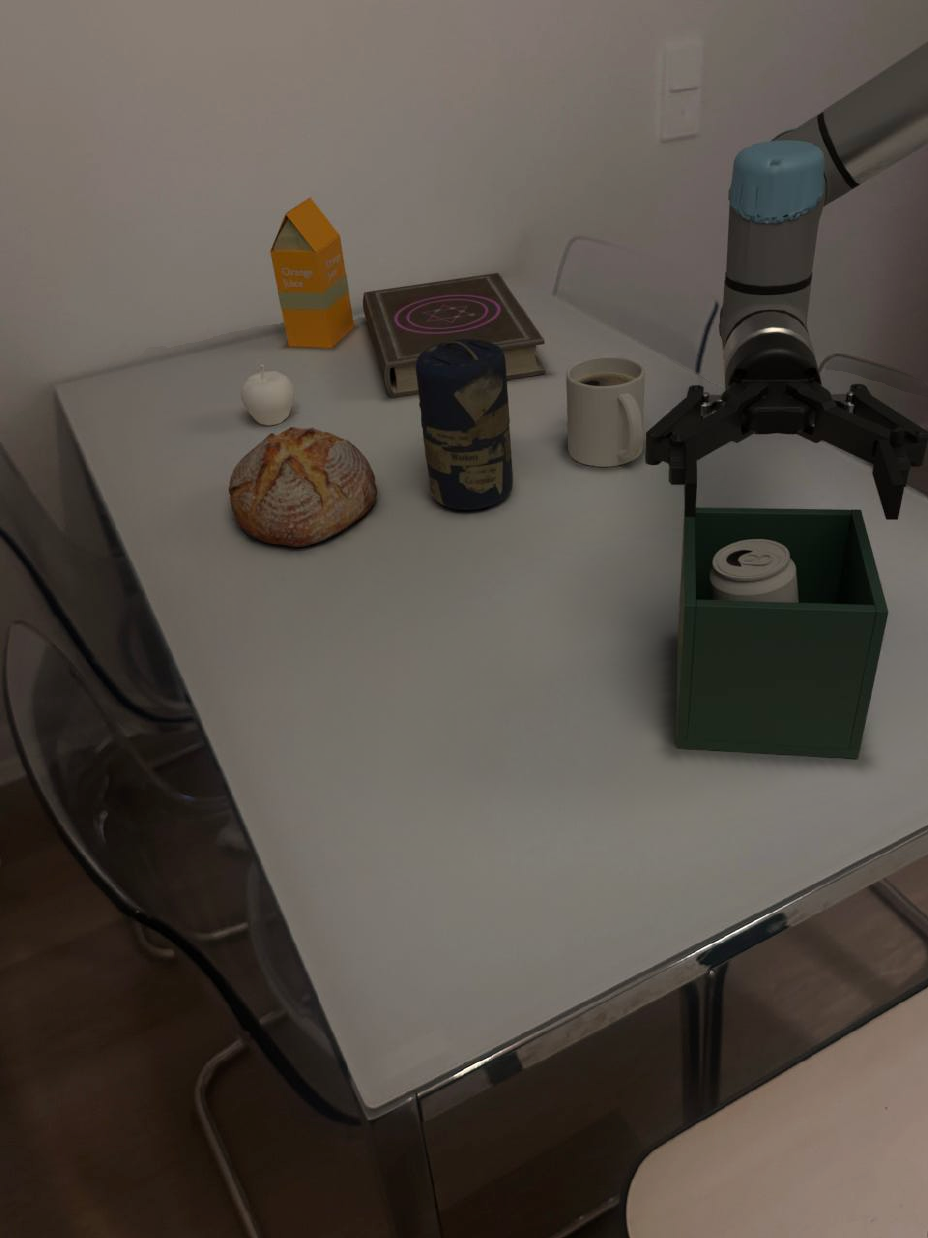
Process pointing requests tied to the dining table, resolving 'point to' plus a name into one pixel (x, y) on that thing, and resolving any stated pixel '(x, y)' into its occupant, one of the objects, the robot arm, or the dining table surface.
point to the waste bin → (780, 638)
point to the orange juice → (311, 279)
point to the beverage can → (754, 573)
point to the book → (448, 326)
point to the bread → (301, 487)
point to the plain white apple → (268, 396)
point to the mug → (605, 410)
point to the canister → (465, 422)
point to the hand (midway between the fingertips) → (791, 501)
